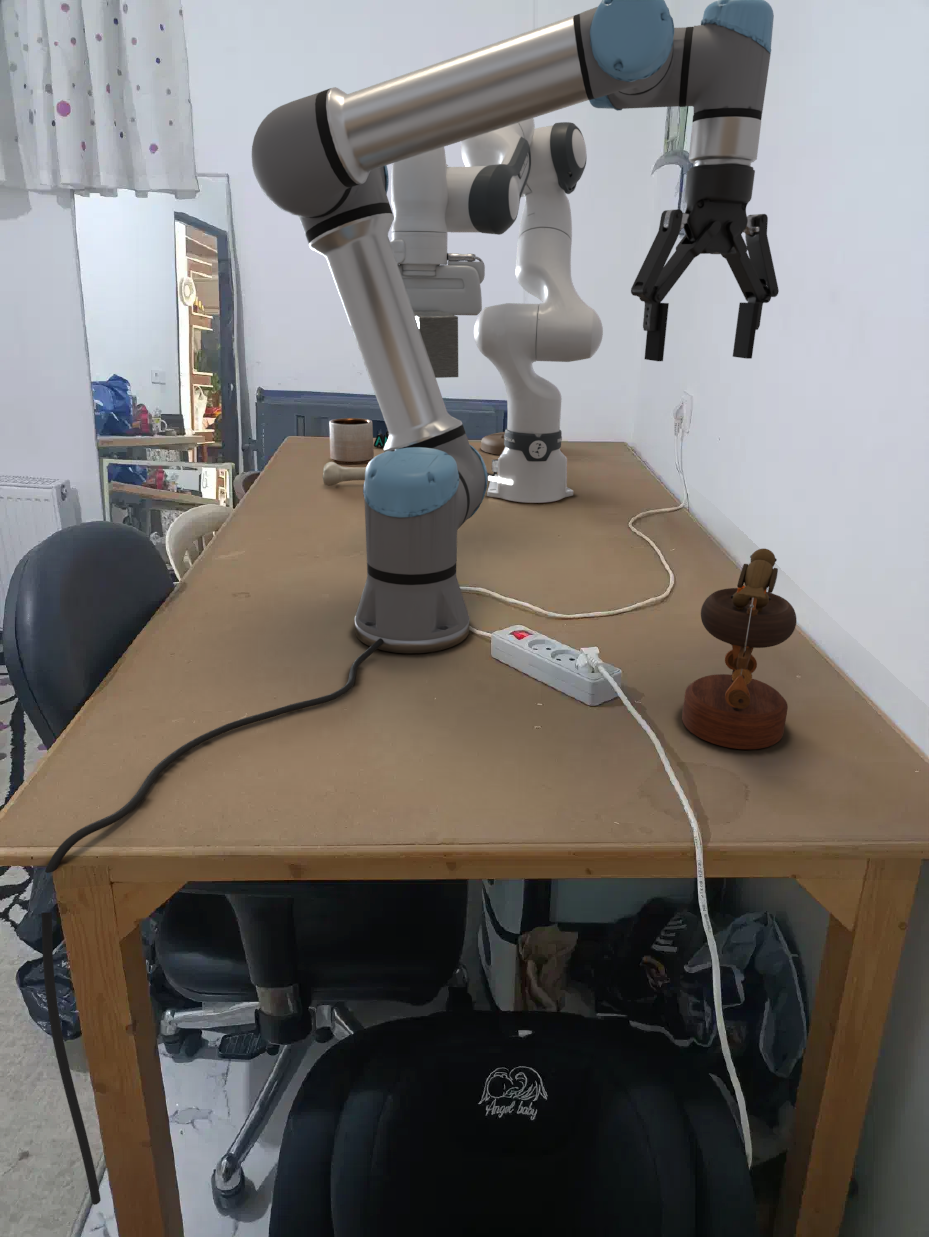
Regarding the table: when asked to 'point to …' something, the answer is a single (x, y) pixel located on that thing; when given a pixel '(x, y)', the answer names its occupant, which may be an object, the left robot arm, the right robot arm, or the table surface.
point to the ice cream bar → (493, 443)
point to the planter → (351, 440)
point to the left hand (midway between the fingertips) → (698, 359)
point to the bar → (440, 341)
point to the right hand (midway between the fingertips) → (420, 344)
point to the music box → (742, 662)
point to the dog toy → (341, 473)
